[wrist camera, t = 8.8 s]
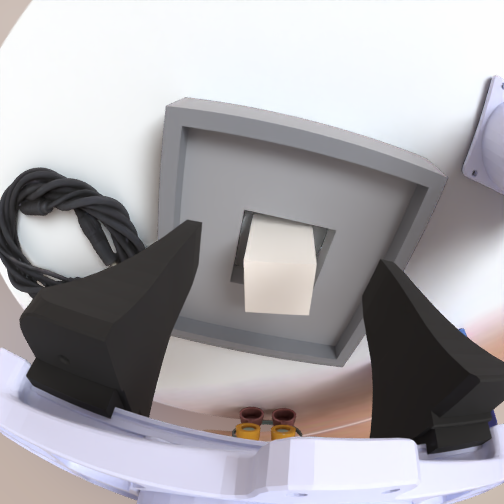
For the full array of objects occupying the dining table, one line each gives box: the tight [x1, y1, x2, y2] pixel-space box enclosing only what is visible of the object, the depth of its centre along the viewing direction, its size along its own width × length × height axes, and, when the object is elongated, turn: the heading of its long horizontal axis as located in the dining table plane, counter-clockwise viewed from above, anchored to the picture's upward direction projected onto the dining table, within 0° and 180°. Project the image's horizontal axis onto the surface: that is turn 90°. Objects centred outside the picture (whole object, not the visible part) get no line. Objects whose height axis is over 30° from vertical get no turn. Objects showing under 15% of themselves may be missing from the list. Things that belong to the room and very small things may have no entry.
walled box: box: [158, 97, 448, 367], centre depth 21 cm, size 16×18×4 cm
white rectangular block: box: [244, 214, 317, 315], centre depth 20 cm, size 4×4×6 cm
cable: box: [0, 168, 145, 299], centre depth 23 cm, size 17×14×4 cm
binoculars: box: [232, 407, 302, 441], centre depth 35 cm, size 9×9×10 cm
